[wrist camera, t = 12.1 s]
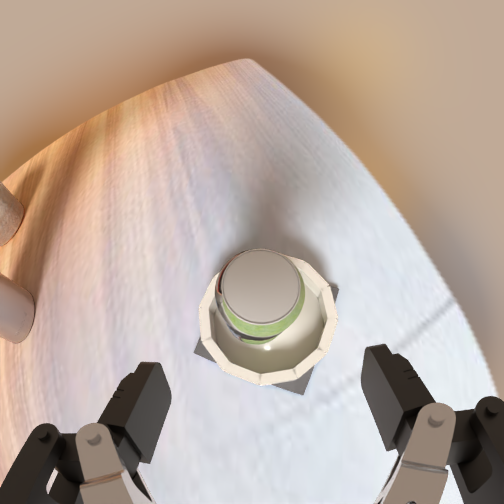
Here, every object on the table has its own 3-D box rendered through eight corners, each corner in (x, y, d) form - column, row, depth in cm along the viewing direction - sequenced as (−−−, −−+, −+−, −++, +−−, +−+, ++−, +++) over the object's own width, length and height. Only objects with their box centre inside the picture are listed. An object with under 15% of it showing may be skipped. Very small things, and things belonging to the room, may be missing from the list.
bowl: (187, 354, 27) (177, 350, 24) (236, 252, 33) (232, 238, 30) (306, 401, 24) (309, 402, 21) (344, 286, 29) (350, 275, 27)
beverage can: (250, 279, 30) (234, 211, 19) (309, 316, 27) (328, 264, 17) (214, 325, 28) (174, 279, 17) (273, 367, 25) (269, 349, 15)
